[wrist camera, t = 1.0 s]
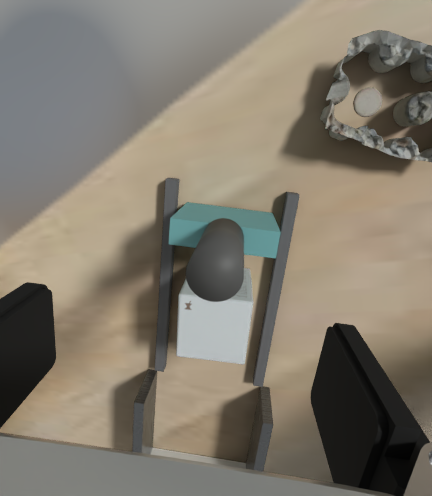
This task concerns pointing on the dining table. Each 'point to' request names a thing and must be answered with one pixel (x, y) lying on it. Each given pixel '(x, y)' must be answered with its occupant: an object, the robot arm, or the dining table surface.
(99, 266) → the dining table surface
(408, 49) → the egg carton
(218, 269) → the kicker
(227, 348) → the product box
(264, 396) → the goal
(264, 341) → the lane rails
